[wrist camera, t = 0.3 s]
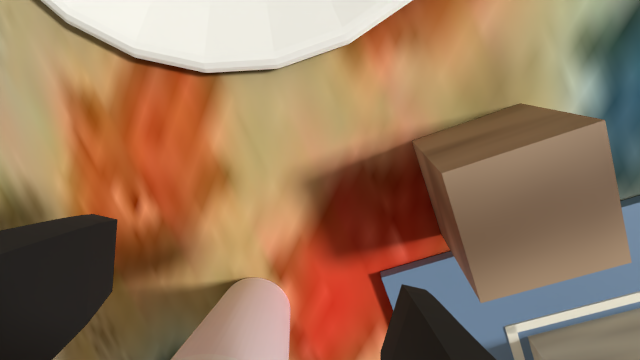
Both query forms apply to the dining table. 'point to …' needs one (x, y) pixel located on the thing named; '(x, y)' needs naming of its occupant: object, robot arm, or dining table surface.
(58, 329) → the robot arm
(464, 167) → the walnut block
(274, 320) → the smoothie
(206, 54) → the white flat ring
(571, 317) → the board
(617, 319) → the birch block
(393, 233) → the dining table surface
